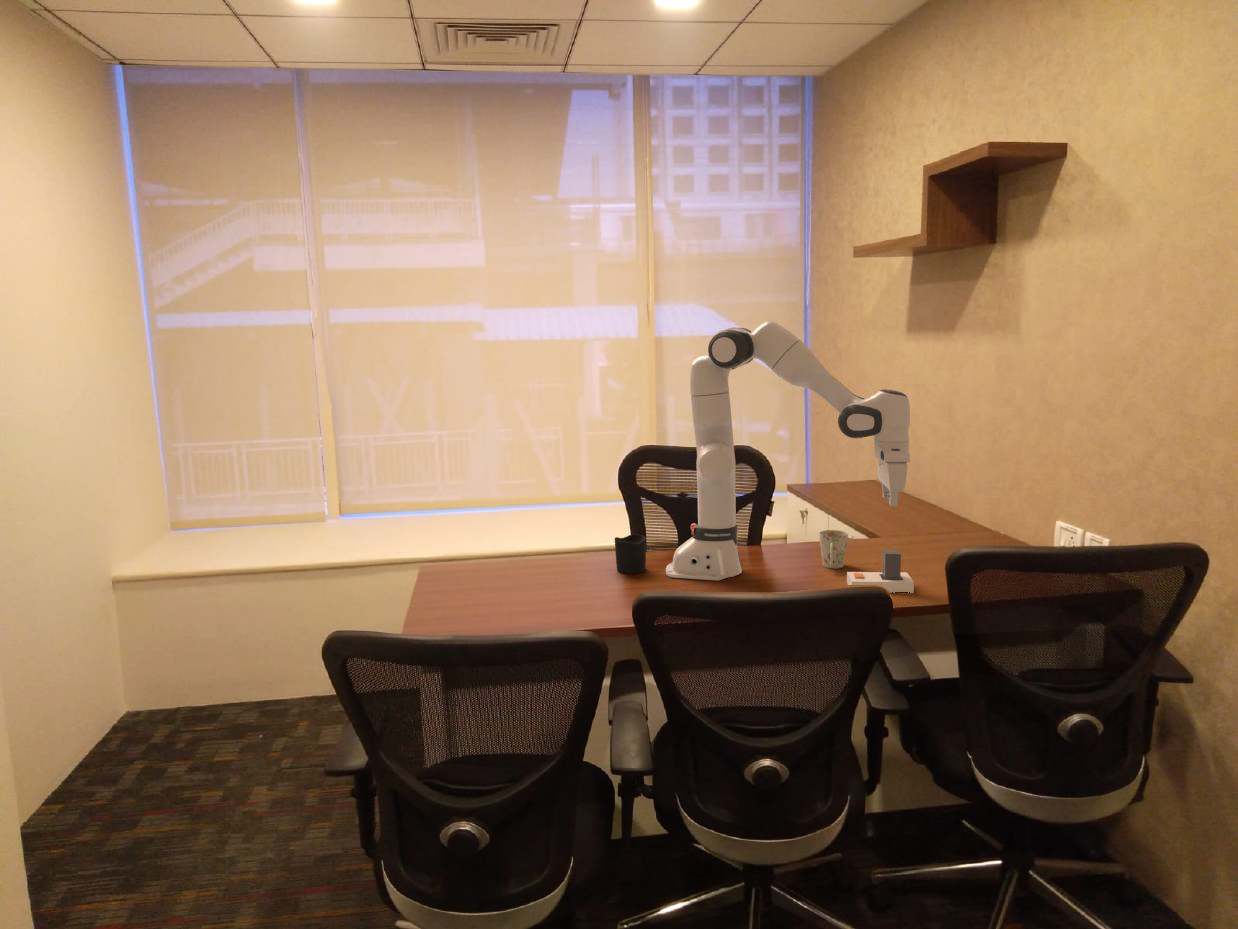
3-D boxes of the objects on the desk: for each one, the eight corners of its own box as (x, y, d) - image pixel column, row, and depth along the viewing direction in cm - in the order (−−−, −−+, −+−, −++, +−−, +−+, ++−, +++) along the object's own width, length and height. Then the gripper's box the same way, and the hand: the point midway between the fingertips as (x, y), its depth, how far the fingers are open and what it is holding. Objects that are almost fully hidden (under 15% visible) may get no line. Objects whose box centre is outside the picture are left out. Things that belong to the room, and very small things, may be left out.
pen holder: (643, 575, 238) (642, 542, 236) (612, 574, 240) (611, 541, 238) (649, 566, 247) (648, 534, 245) (619, 565, 249) (618, 534, 247)
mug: (847, 562, 244) (848, 530, 242) (847, 574, 232) (848, 540, 230) (819, 561, 246) (819, 529, 244) (818, 573, 234) (818, 539, 232)
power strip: (851, 592, 216) (851, 579, 215) (846, 582, 224) (847, 570, 224) (913, 593, 213) (914, 580, 213) (906, 582, 222) (906, 570, 222)
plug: (884, 590, 217) (885, 554, 215) (881, 585, 221) (882, 550, 219) (900, 590, 216) (900, 554, 215) (897, 585, 220) (897, 550, 219)
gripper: (872, 445, 224) (871, 494, 226) (885, 456, 204) (884, 509, 206) (896, 445, 223) (894, 494, 225) (911, 456, 203) (909, 510, 205)
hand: (889, 502), depth 216 cm, fingers open, 8 cm apart
